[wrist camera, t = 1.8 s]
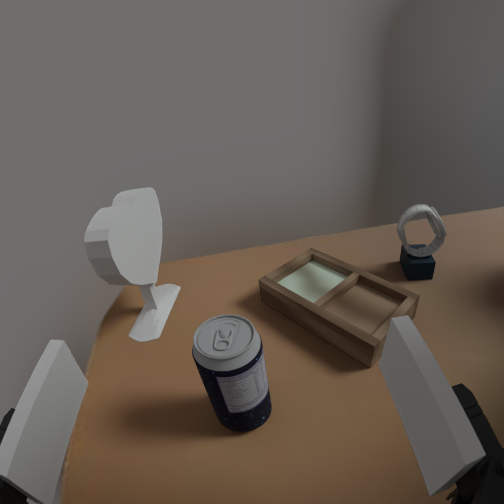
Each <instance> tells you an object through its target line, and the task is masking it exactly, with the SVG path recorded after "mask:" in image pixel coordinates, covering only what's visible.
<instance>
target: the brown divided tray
mask: <svg viewBox="0 0 504 504" xmlns="http://www.w3.org/2000/svg"><path fill="white" fill-rule="evenodd" d="M259 287H260V295H261V301H263V302H264V303H266V304H268V305H269V306H271V307H272V308H274V309H275V310H277V311H279V312H280V313H282V314H283V315H285V316H286V317H288V318H290V319H291V320H293V321H294V322H296V323H297V324H299V325H301V326H302V327H304V328H305V329H307V330H309V331H310V332H312V333H313V334H315V335H317V336H318V337H320V338H322V339H323V340H325V341H326V342H328V343H330V344H331V345H333V346H335V347H336V348H338V349H339V350H341V351H343V352H344V353H346V354H348V355H349V356H351V357H353V358H354V359H356V360H358V361H359V362H361V363H363V364H364V365H366V366H368V367H369V368H371V367H372V366H373V365H374V363H375V362H376V361H377V360H378V359H379V358H380V357H381V355H382V351H383V348H384V344H385V340H386V337H387V333H388V329H389V325H390V321H391V318H394V317H400V316H406V315H408V316H409V318H410V319H411V321H412V319H413V318H414V317H415V313H416V309H417V305H418V301H419V296H420V295H418V294H415V293H413V292H411V291H409V290H406V289H404V288H402V287H400V286H398V285H395V284H393V283H391V282H389V281H386V280H384V279H382V278H380V277H377V276H375V275H373V274H370V273H368V272H366V271H364V270H361V269H359V268H357V267H354V266H352V265H350V264H347V263H345V262H343V261H341V260H338V259H336V258H334V257H331V256H329V255H327V254H324V253H322V252H320V251H317V250H315V249H312V248H311V249H309V250H307V251H306V252H304V253H302V254H301V255H299V256H298V257H296V258H294V259H293V260H291V261H289V262H288V263H286V264H284V265H283V266H281V267H279V268H278V269H276V270H274V271H272V272H271V273H269V274H267V275H266V276H264V277H262V278H261V279H259Z"/></svg>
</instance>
